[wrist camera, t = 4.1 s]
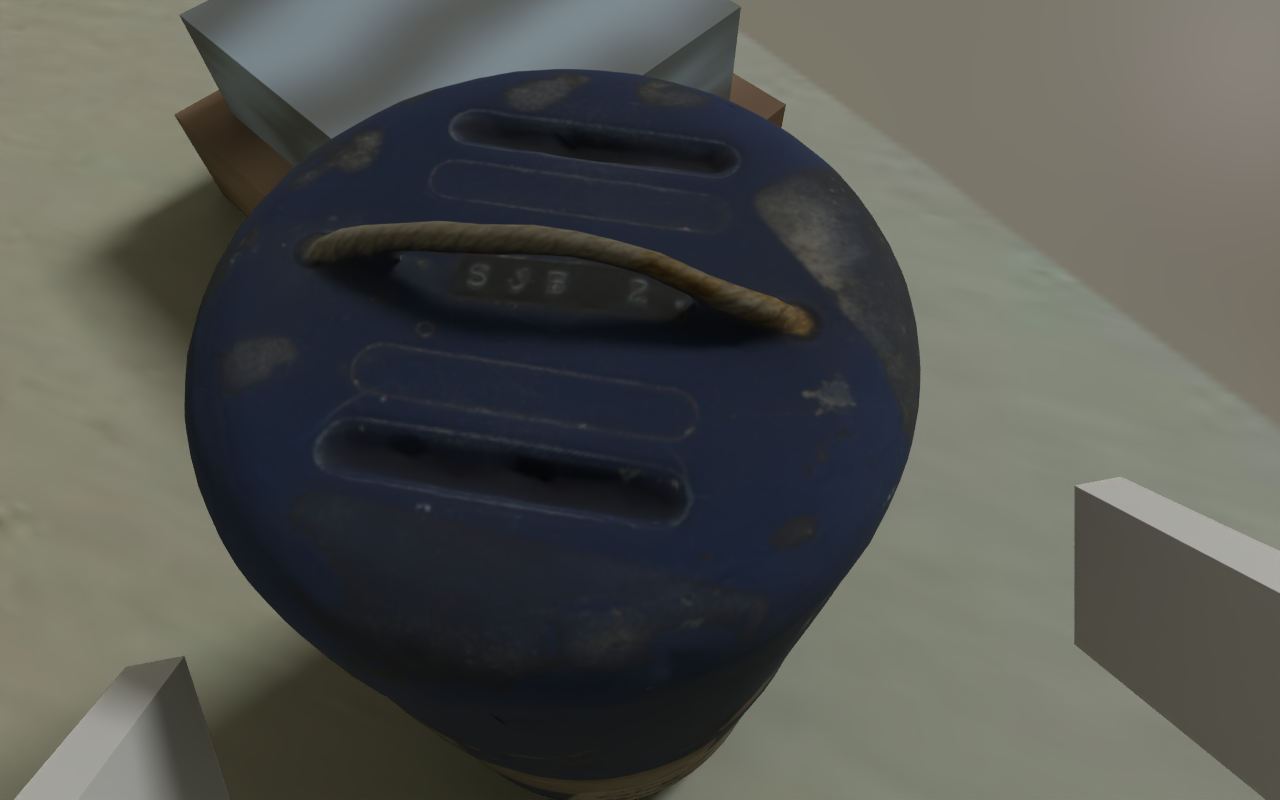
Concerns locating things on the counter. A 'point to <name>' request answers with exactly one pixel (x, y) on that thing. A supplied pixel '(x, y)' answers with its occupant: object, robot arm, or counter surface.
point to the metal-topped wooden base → (421, 64)
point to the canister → (556, 413)
